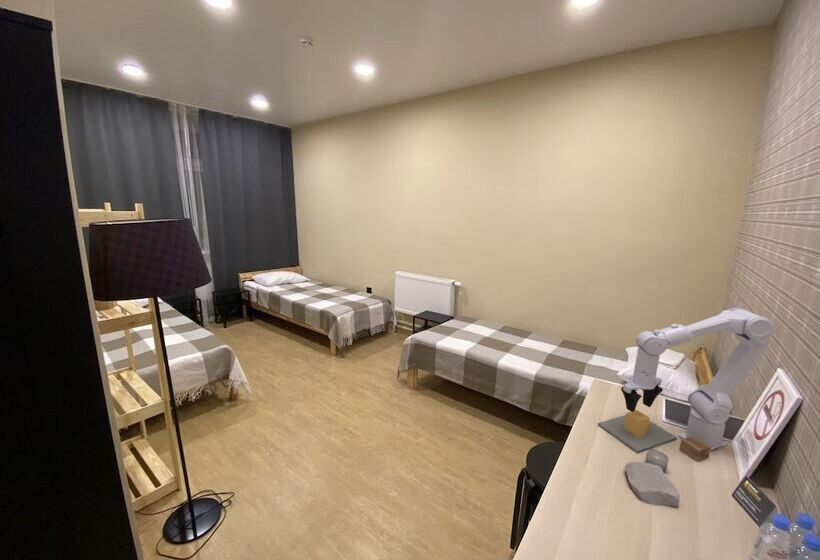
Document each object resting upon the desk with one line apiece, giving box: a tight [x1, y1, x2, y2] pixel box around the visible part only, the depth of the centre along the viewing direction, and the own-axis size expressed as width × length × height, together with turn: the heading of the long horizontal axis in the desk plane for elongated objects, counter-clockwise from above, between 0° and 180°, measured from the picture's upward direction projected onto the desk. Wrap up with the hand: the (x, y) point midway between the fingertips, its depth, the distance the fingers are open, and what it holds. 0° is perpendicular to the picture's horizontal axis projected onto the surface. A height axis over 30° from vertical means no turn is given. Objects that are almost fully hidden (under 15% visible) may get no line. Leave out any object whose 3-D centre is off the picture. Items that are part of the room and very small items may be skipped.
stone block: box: [624, 461, 681, 508], centre depth 89 cm, size 12×5×10 cm
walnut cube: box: [678, 436, 712, 463], centre depth 101 cm, size 5×5×4 cm
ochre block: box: [624, 409, 650, 437], centre depth 109 cm, size 4×4×6 cm
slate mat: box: [597, 414, 678, 454], centre depth 111 cm, size 18×14×1 cm
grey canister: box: [644, 448, 670, 474], centre depth 96 cm, size 5×5×4 cm
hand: (638, 407), depth 108 cm, fingers open, 7 cm apart
